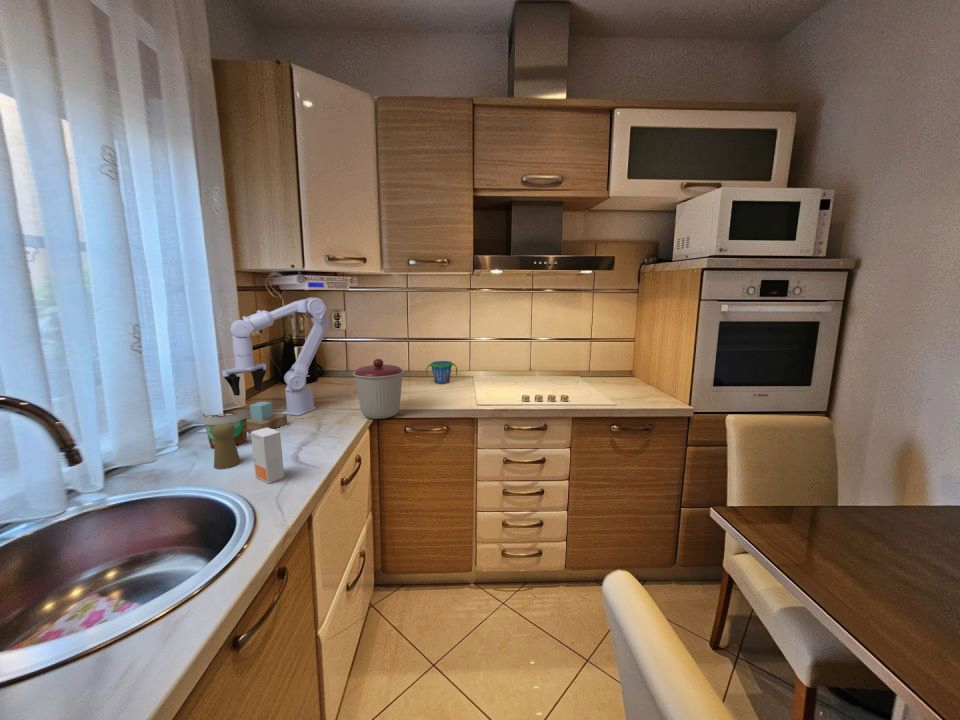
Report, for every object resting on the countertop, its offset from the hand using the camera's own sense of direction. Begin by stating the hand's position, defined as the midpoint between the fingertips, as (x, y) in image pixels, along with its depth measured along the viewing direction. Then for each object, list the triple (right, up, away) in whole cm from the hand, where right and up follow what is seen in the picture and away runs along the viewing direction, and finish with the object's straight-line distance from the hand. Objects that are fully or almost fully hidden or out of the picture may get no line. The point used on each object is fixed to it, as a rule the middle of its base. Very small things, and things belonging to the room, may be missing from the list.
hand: (247, 392), depth 140 cm
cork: (+15, -16, -35) cm, 41 cm away
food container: (+7, -14, -23) cm, 28 cm away
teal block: (+10, -8, -8) cm, 15 cm away
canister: (+45, -9, +7) cm, 47 cm away
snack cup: (+63, 0, +58) cm, 86 cm away
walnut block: (+10, -12, -7) cm, 17 cm away
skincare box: (+30, -18, -42) cm, 55 cm away
